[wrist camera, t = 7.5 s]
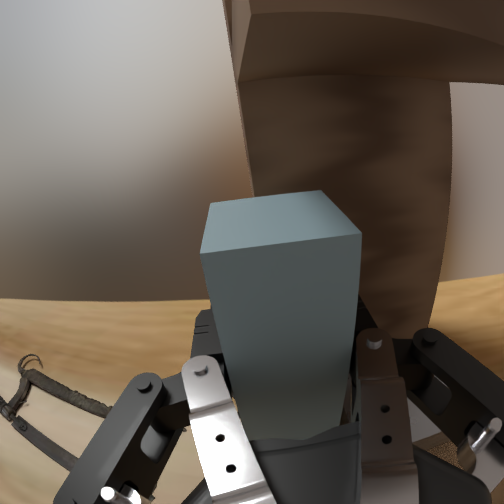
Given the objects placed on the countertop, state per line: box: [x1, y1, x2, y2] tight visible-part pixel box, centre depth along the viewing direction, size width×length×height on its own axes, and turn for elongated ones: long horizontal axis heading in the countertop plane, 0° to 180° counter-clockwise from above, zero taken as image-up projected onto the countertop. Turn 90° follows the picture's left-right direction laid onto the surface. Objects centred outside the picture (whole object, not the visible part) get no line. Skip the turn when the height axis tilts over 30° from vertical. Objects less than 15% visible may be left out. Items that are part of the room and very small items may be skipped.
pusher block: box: [200, 190, 362, 441], centre depth 12 cm, size 4×4×12 cm
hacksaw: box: [0, 354, 240, 502], centre depth 18 cm, size 24×10×2 cm, turn 73°
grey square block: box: [340, 373, 451, 451], centre depth 14 cm, size 6×6×2 cm
